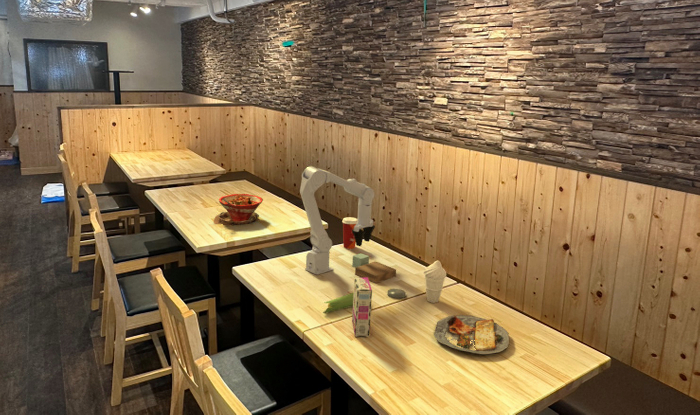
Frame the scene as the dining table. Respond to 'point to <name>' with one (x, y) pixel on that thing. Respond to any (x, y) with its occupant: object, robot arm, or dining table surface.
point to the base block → (375, 272)
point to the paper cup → (349, 232)
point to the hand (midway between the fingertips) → (362, 243)
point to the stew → (238, 209)
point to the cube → (360, 260)
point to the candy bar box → (361, 306)
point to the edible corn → (340, 303)
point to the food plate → (483, 332)
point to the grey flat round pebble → (396, 293)
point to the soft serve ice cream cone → (434, 281)
